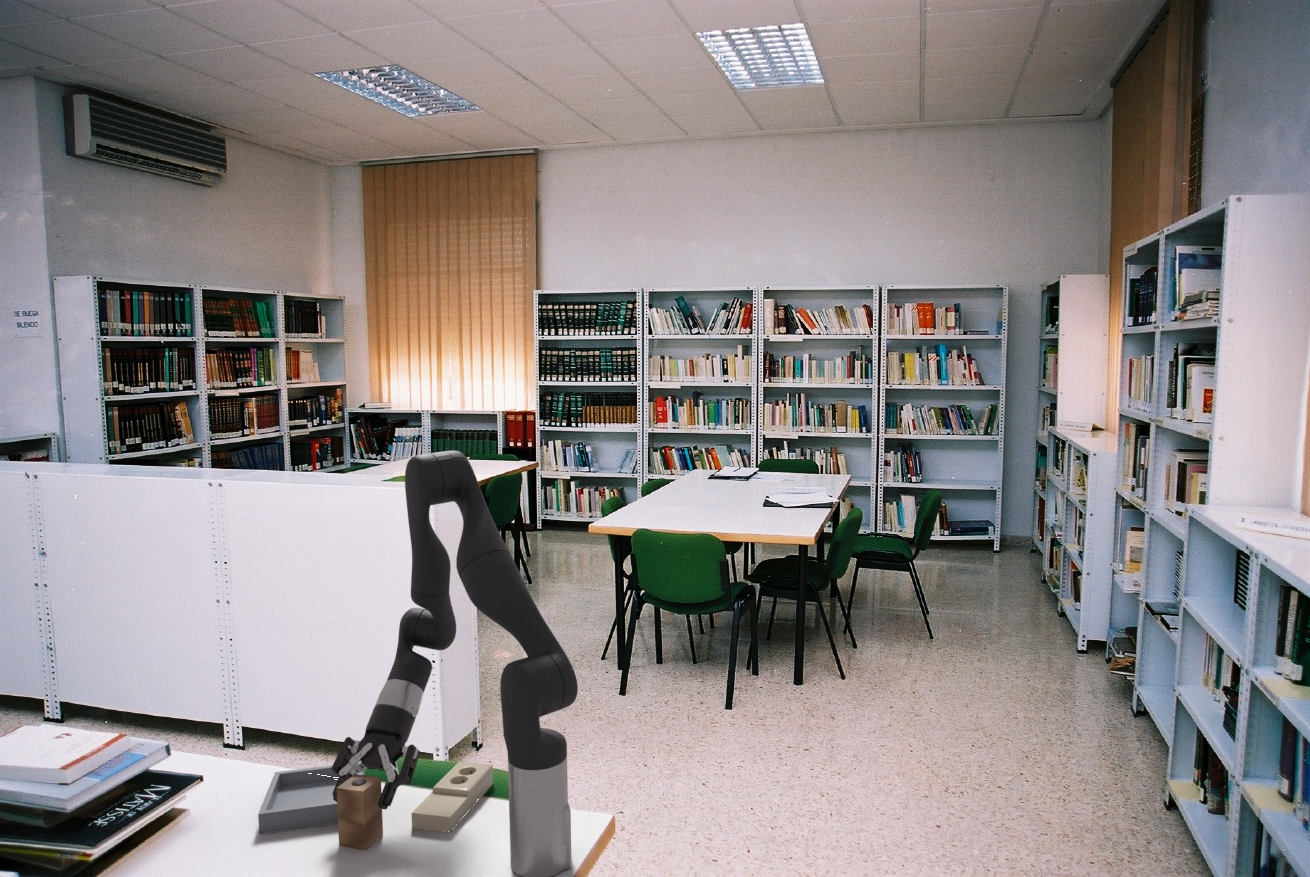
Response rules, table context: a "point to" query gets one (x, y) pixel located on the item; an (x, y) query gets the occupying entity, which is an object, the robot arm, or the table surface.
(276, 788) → the tray
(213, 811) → the table surface
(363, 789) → the block
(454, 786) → the electrical outlet
